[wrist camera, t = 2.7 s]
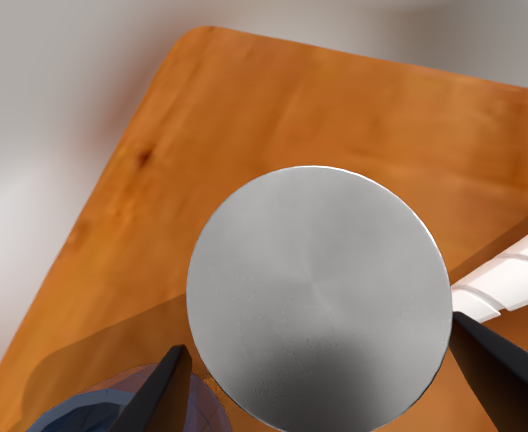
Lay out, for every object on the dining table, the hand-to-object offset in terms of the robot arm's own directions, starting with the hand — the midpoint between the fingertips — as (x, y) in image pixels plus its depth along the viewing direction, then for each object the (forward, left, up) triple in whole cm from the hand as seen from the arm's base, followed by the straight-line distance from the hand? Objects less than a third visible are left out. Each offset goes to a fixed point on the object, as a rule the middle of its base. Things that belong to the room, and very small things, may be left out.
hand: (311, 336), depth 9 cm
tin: (+2, 0, -9) cm, 9 cm away
